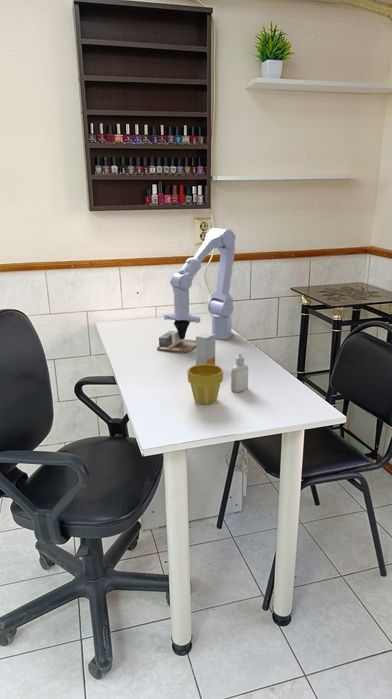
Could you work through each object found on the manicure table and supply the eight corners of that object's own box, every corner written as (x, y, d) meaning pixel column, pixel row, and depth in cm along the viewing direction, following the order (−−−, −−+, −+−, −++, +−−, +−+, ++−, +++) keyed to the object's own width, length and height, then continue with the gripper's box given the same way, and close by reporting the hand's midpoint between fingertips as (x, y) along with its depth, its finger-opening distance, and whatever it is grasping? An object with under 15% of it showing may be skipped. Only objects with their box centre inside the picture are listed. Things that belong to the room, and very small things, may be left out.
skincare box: (205, 371, 169) (205, 338, 165) (195, 369, 172) (195, 336, 168) (215, 366, 174) (215, 333, 170) (206, 364, 176) (205, 331, 172)
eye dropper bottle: (250, 391, 153) (250, 355, 149) (232, 393, 152) (232, 356, 148) (246, 386, 157) (247, 350, 153) (229, 387, 156) (229, 351, 152)
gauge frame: (172, 339, 204) (172, 329, 202) (201, 343, 199) (201, 332, 198) (156, 350, 191) (155, 339, 190) (186, 354, 186) (186, 343, 185)
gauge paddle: (180, 339, 199) (180, 328, 197) (183, 339, 198) (183, 328, 197) (168, 348, 189) (167, 336, 187) (171, 348, 188) (170, 336, 187)
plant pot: (202, 390, 154) (202, 361, 151) (229, 398, 148) (230, 368, 145) (181, 401, 147) (180, 370, 144) (208, 410, 140) (208, 379, 137)
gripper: (160, 305, 189) (161, 339, 193) (194, 308, 183) (195, 343, 188) (168, 301, 195) (169, 334, 199) (202, 304, 189) (202, 338, 194)
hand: (182, 338), depth 194 cm, fingers closed
